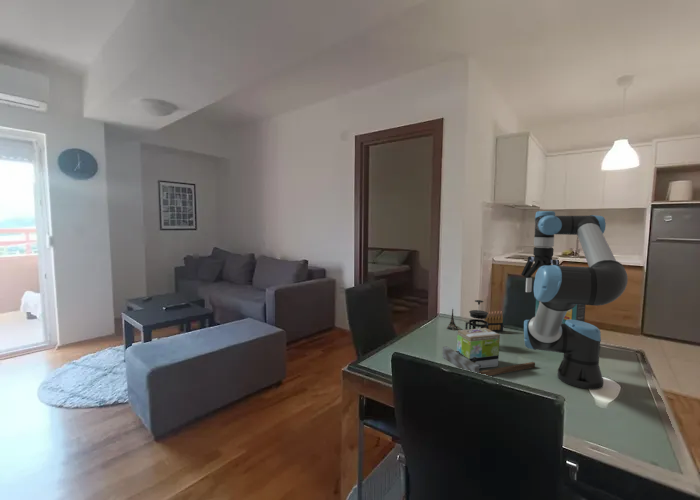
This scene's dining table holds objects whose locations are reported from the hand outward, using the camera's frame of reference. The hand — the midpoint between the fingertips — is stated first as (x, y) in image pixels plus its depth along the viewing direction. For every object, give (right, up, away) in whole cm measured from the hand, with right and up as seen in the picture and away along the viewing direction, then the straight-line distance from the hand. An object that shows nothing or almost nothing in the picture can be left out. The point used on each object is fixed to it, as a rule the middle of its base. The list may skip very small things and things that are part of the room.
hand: (541, 295), depth 149 cm
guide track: (-22, -31, +4) cm, 38 cm away
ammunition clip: (-2, -27, +45) cm, 53 cm away
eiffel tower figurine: (-24, -27, +50) cm, 61 cm away
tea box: (-28, -31, +2) cm, 41 cm away
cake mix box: (+21, -29, +24) cm, 43 cm away
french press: (-19, -29, +25) cm, 42 cm away
